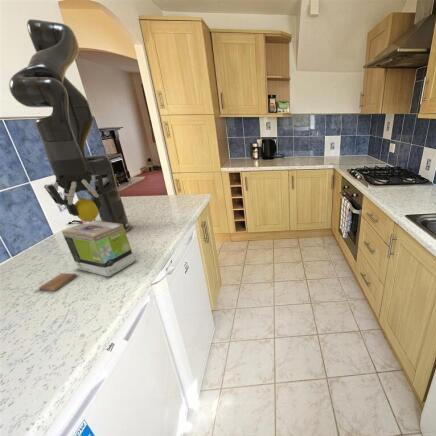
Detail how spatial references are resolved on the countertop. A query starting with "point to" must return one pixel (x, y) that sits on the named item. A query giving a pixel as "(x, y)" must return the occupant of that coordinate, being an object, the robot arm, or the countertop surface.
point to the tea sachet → (57, 282)
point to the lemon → (86, 209)
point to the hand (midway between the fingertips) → (86, 211)
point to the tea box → (99, 247)
